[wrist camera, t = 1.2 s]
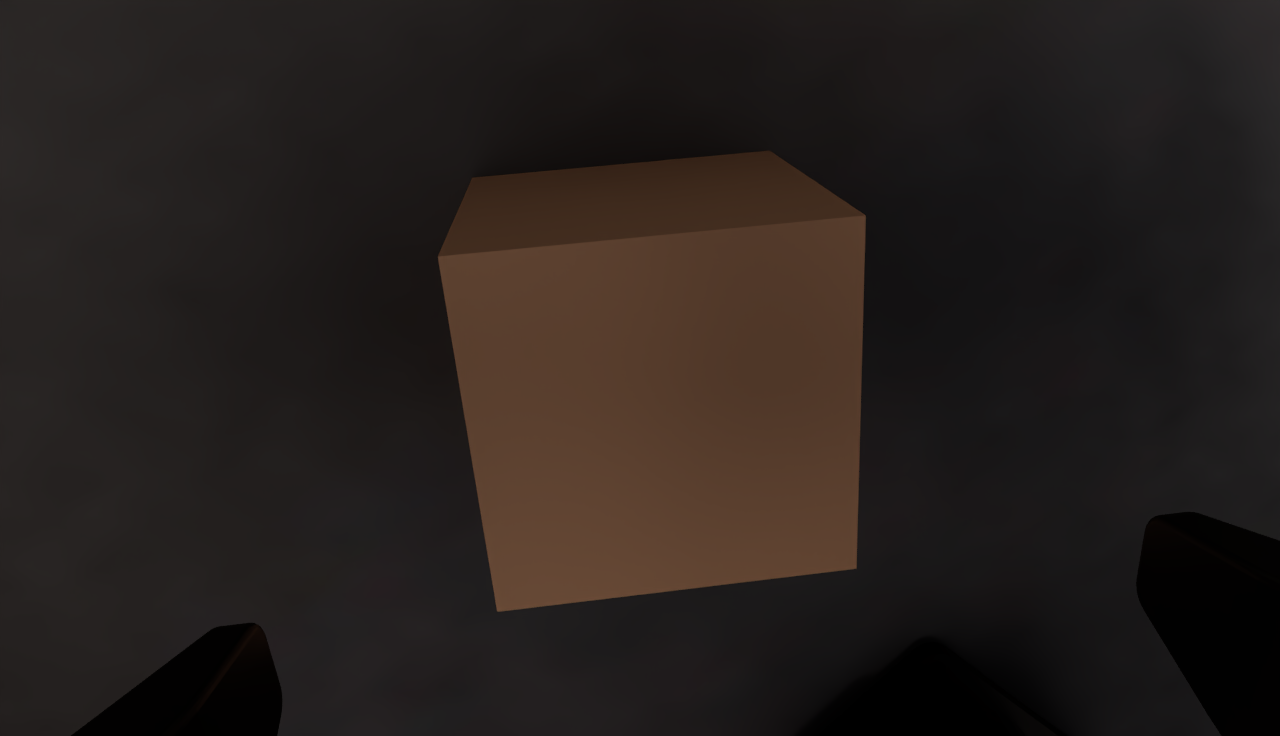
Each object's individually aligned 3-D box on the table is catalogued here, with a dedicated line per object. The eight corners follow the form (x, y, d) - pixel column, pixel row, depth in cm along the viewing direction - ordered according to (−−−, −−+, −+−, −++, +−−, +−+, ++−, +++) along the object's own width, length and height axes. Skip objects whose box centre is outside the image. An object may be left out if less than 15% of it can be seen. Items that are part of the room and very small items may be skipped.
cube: (769, 149, 16) (865, 215, 11) (772, 414, 19) (856, 568, 14) (472, 177, 16) (437, 256, 11) (511, 442, 18) (497, 611, 13)
